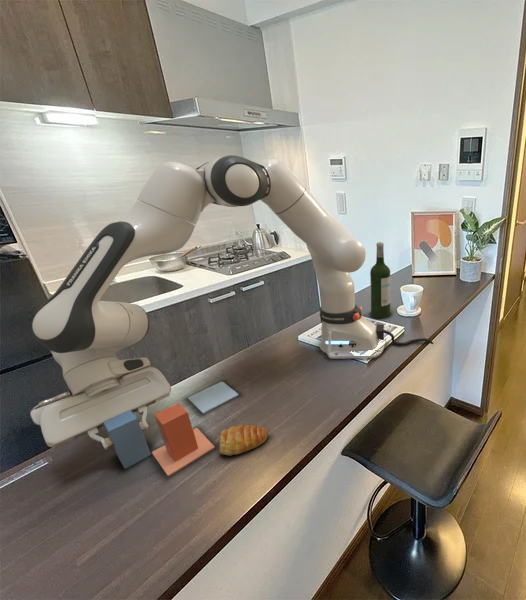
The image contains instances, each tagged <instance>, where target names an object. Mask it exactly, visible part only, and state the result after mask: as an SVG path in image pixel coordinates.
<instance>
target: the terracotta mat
mask: <svg viewBox="0 0 526 600" xmlns="http://www.w3.org/2000/svg"><path fill="white" fill-rule="evenodd" d="M193 432H194V435H195V438H196V442H197V445H198V449H196V450H195V451H193V452H191V453H190V454H188V455H186V456H184V457H183V458H181V459H179V460H178V461H176V462H175V461H174V459H173V458H172V457H171V456H170V454H169V453H168V452H167V450H166V447H165V444H164V445H162V446H159V447H158V448H157V449H155V450H153V451H151V455H152V456H153V457H154V458H155V460H156V462H157V463H158V464H159V466H160V467H161V469H162V470H163V472H164V473H165V474H166V476H167V477H168V478H169V477H171V476H172V475H174V474H175V473H177V472H178V471H180V470H182V469H183V468H185V467H187V466H189V465H190V464H192V463H193V462H195V461H196V460H199V459H200V458H201V457H203V456H205V455H206V454H208V453H209V452H211V451H213V450H215V449H216V446H215V445H214V444H213V443H212V442H211V441H210V440H209V439H208V438H207V437H206V436H205V435H204V434H203V432H202V431H201V430H200V429H199V428H198V427H194V428H193Z"/></svg>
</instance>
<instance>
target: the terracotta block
mask: <svg viewBox="0 0 526 600" xmlns="http://www.w3.org/2000/svg"><path fill="white" fill-rule="evenodd" d="M153 417H154V419H155V421H156V424H157V427H158V430H159V433H160V436H161V438H162V441H163V444H164V445H165V447H166V450H167V452H168V453H169V454H170V456H171V457H172V458H173V459H174V461H175V462H176V461H178V460H179V459H181V458H183V457H184V456H186V455H188V454H190V453H191V452H193V451H195V450H196V449H198V445H197V442H196V438H195V435H194V432H193V429H194V428H193V426H192V423H191V419H190V416H189V412H188V411H187V410H186V409H185V408H184V406H183V405H182V404H180V402H177V403H175V404H173V405H170V406H169V407H167V408H165V409H163V410H160V411H158V412H156V413H154V416H153Z"/></svg>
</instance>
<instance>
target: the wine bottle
mask: <svg viewBox="0 0 526 600" xmlns="http://www.w3.org/2000/svg"><path fill="white" fill-rule="evenodd" d="M375 245H376V255H375V256H376V257H375V258H376V259H375V264H374V265H373V266H371V268H370V272H369V275H370V276H369V278H370V279H369V280H370V315H371V316H372V317H373V318H375V319H386V318H388V317H390V315H391V269H390V267H389V266H388V265H387V264H386V263H385V253H384V251H385V250H384V246H385V245H384V242H382V241H377V242H376V244H375Z"/></svg>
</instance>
